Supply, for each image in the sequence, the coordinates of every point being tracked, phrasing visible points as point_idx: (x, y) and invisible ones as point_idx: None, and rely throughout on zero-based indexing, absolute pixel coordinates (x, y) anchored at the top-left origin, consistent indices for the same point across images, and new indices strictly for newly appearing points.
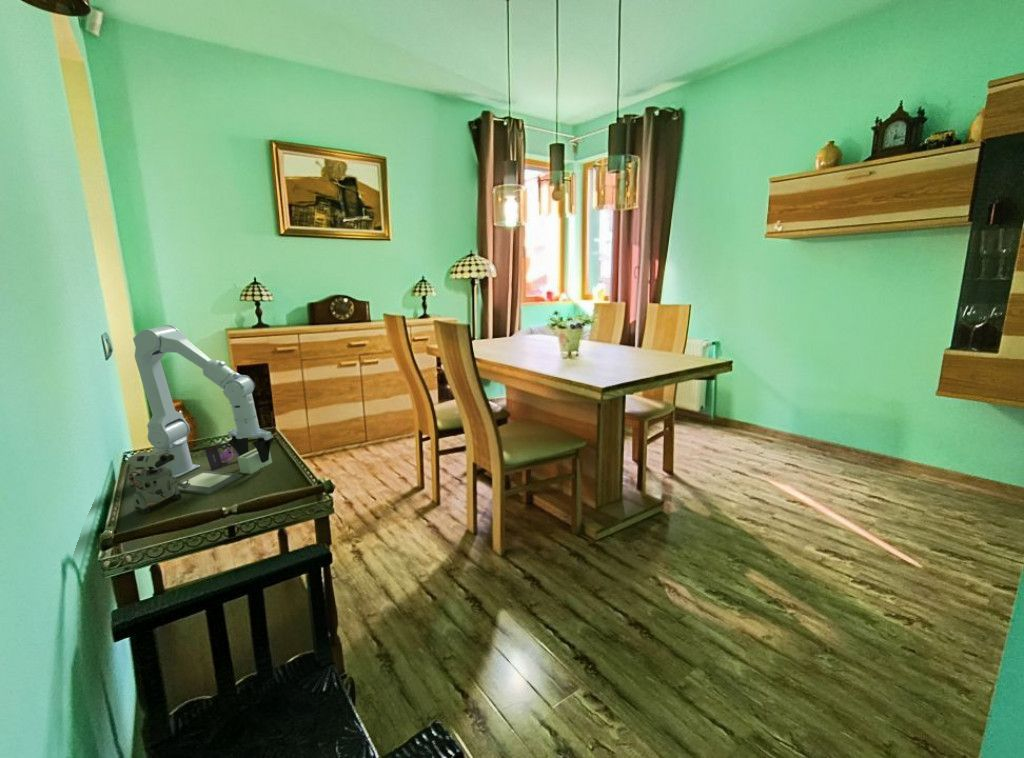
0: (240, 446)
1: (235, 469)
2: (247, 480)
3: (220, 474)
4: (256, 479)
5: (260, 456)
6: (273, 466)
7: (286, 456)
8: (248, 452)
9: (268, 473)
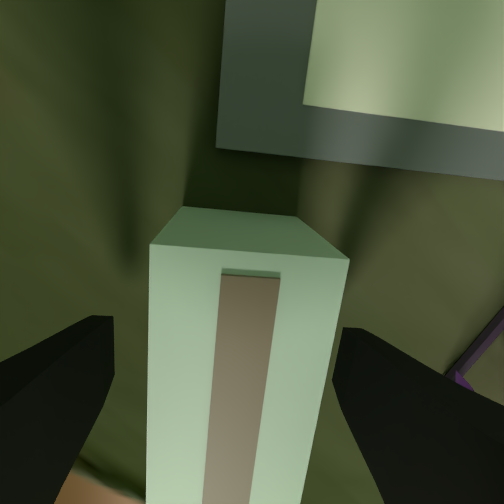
0: (446, 470)
1: (385, 265)
2: (94, 69)
3: (435, 130)
4: (17, 98)
5: (55, 345)
6: None
7: (144, 483)
8: (303, 405)
9: (16, 226)
